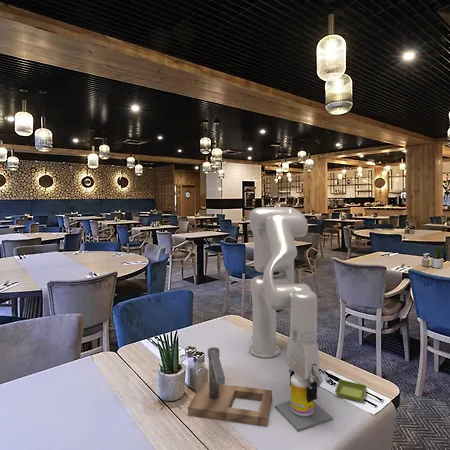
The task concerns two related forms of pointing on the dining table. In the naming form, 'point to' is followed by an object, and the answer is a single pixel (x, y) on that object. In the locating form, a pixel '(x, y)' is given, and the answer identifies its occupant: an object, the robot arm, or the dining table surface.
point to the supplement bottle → (300, 396)
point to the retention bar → (216, 365)
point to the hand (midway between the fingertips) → (302, 392)
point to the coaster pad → (303, 421)
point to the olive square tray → (351, 390)
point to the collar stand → (229, 402)
